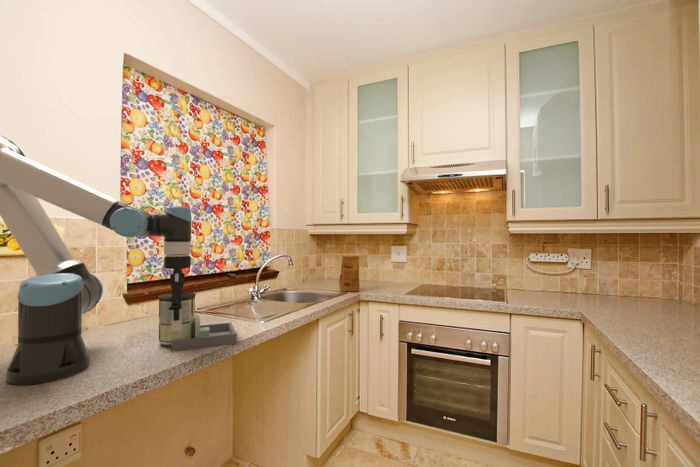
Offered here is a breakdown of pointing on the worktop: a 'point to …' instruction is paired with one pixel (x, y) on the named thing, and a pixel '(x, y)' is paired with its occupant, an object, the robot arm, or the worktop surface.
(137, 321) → the worktop surface
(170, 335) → the coffee can
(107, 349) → the worktop surface
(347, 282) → the coffee package
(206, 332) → the pusher
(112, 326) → the worktop surface
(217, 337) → the grey tray
